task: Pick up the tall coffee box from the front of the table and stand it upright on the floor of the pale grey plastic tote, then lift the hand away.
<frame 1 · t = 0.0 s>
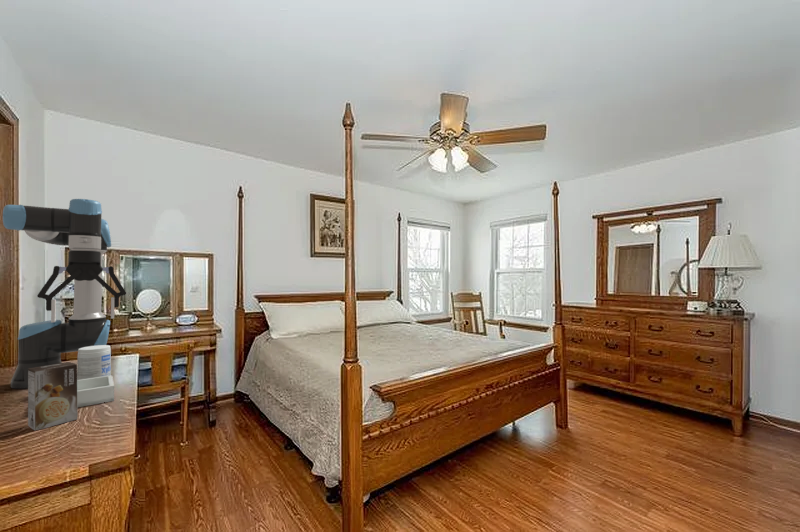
hand: (84, 320, 111), 28 cm above the dresser, tool pointing down, fingers open, 13 cm apart
tote: (82, 399, 121), on the dresser
supplement tub: (94, 387, 134), on the dresser
coffee box: (52, 423, 103), on the dresser
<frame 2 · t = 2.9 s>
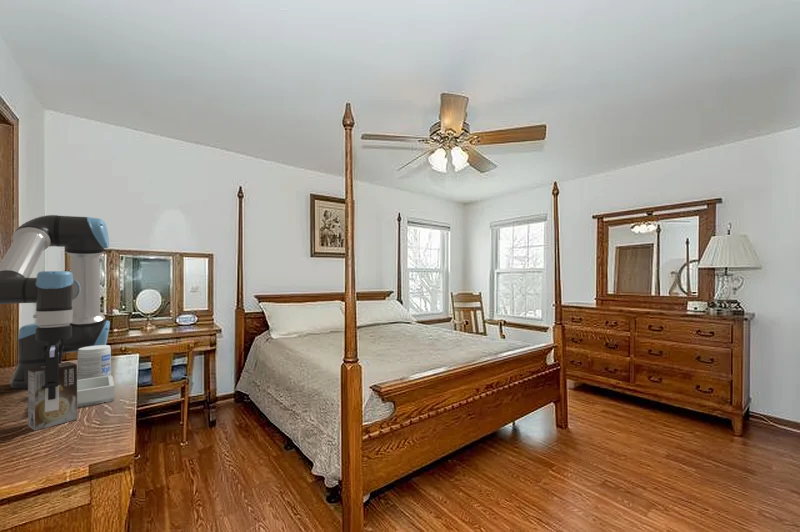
hand: (53, 406, 103), 5 cm above the dresser, tool pointing down, fingers closed on coffee box, 7 cm apart
coffee box: (52, 423, 103), on the dresser, touching gripper
everything else where it was.
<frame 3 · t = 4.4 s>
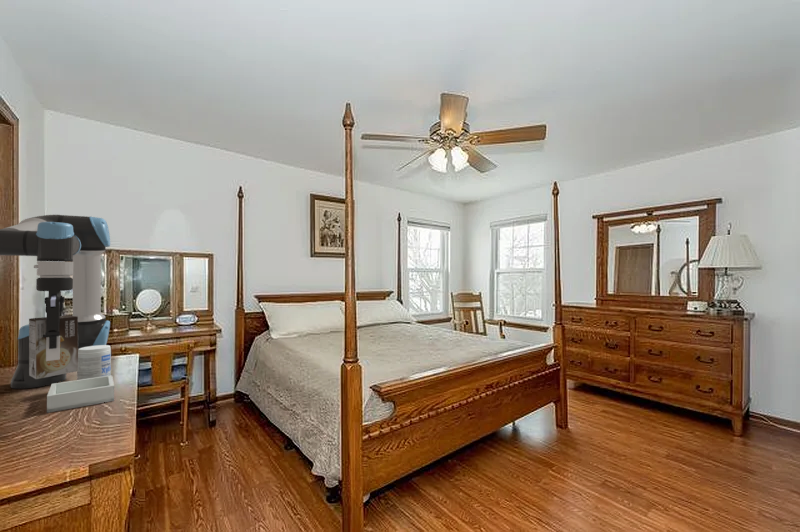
hand: (54, 357, 103), 18 cm above the dresser, tool pointing down, fingers closed on coffee box, 7 cm apart
coffee box: (53, 374, 103), point 14 cm above the dresser, touching gripper
everything else where it was.
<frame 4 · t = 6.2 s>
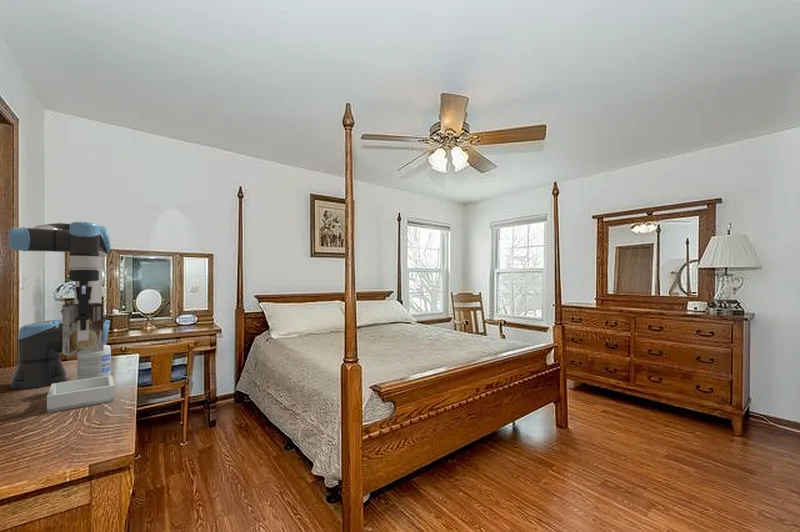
hand: (83, 338, 120), 21 cm above the dresser, tool pointing down, fingers closed on coffee box, 7 cm apart
coffee box: (83, 353, 120), point 16 cm above the dresser, touching gripper
everything else where it was.
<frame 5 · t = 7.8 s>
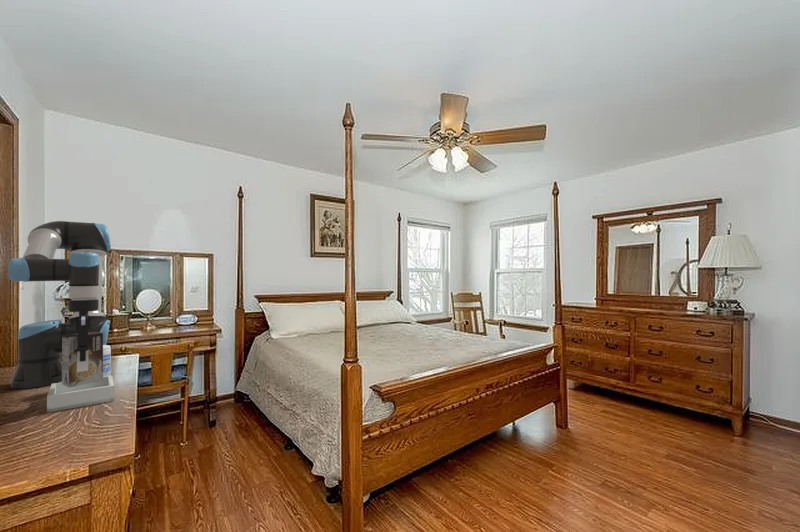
hand: (82, 368, 120), 11 cm above the dresser, tool pointing down, fingers closed on coffee box, 7 cm apart
coffee box: (82, 383, 119), point 6 cm above the dresser, touching gripper
everything else where it was.
when the fingers open (7 cm above the dresser, at t = 9.4 s): coffee box drops 1 cm, resting on tote.
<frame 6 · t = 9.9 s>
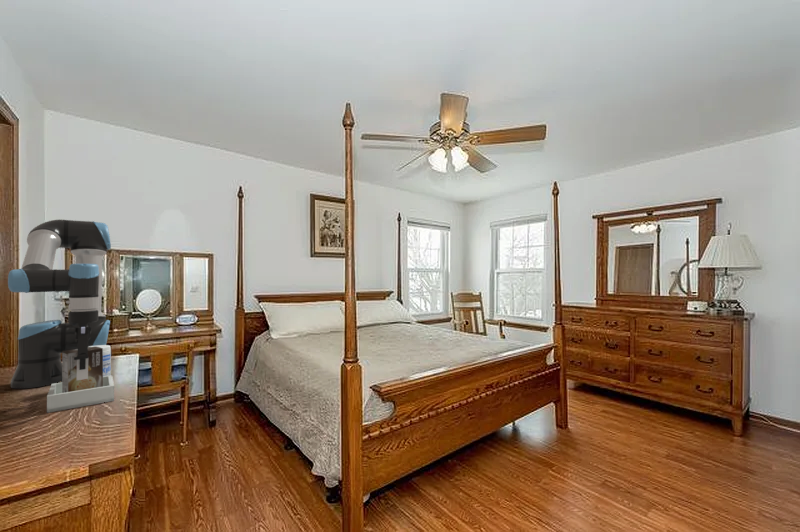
hand: (82, 374, 120), 9 cm above the dresser, tool pointing down, fingers open, 13 cm apart
coffee box: (82, 398, 120), point 1 cm above the dresser, touching tote
everything else where it was.
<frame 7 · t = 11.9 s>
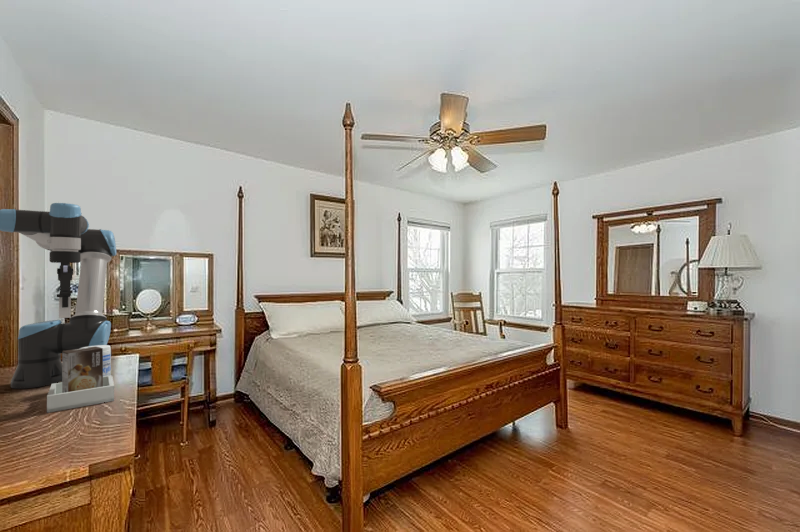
hand: (64, 315, 120), 28 cm above the dresser, tool pointing down, fingers open, 13 cm apart
nothing on the dresser moved.
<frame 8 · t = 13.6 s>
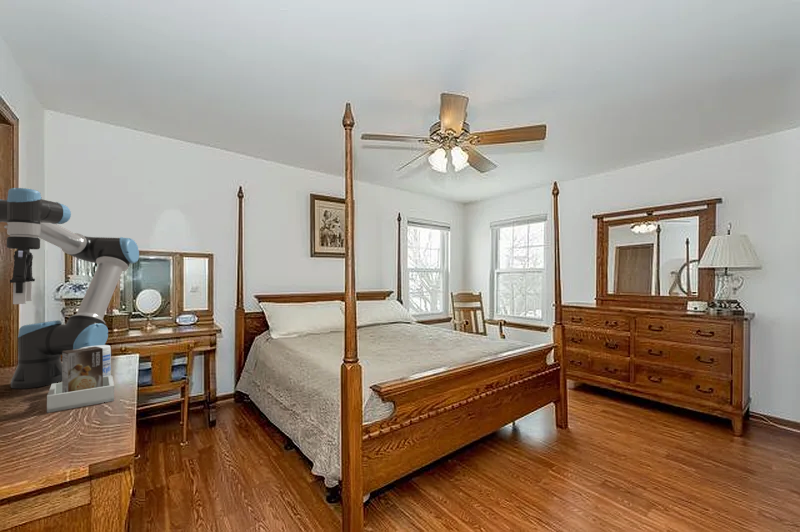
hand: (22, 302, 117), 33 cm above the dresser, tool pointing down, fingers open, 13 cm apart
nothing on the dresser moved.
at the end: coffee box inside the target area on the tote (1.7 cm from its centre), point 0.8 cm above the tote's base; coffee box tilted 0°; the gripper is holding nothing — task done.
